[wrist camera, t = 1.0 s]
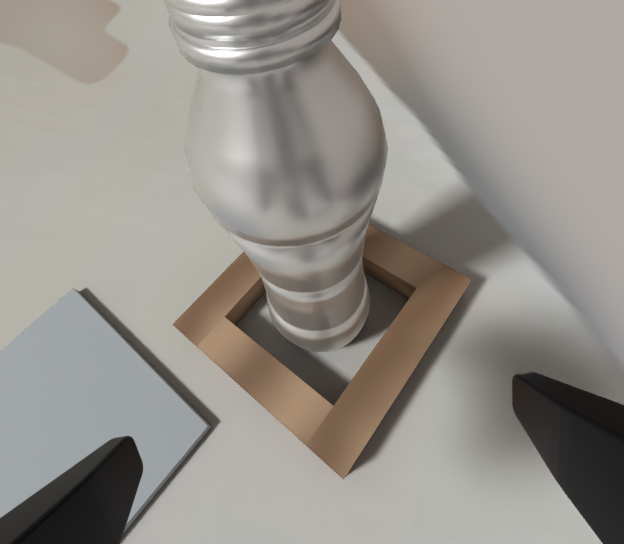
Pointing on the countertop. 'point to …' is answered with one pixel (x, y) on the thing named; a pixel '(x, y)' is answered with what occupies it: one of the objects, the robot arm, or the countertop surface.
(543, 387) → the robot arm
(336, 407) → the pocket frame
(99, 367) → the mat
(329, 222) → the plastic bottle
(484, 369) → the countertop surface
